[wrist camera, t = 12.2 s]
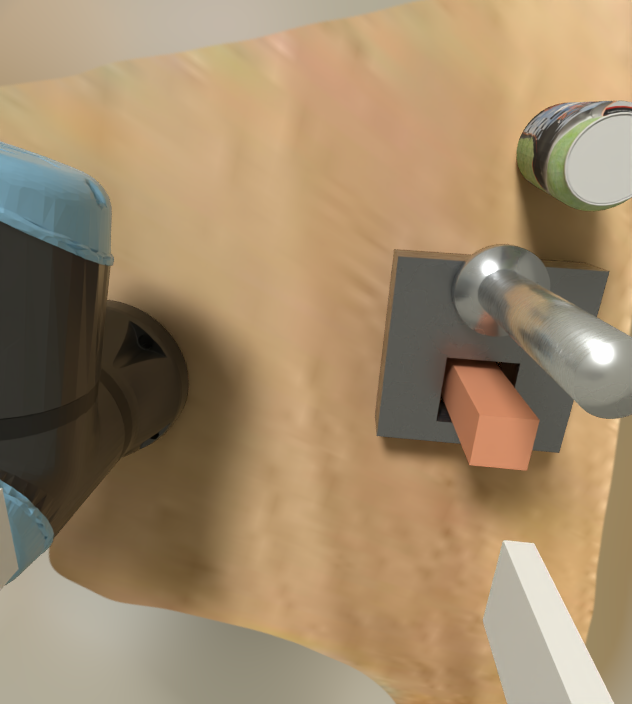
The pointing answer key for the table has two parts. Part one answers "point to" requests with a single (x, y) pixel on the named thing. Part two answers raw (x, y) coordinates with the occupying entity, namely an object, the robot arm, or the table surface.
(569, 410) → the socket base with post
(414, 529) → the table surface
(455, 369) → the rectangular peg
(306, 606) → the table surface
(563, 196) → the beverage can
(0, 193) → the robot arm
